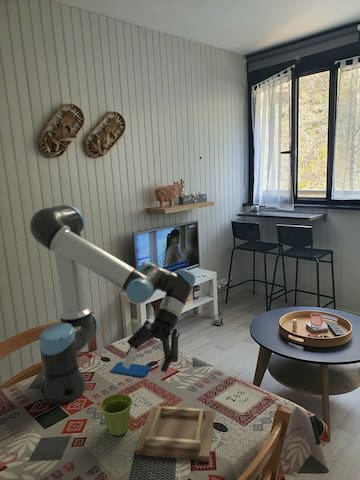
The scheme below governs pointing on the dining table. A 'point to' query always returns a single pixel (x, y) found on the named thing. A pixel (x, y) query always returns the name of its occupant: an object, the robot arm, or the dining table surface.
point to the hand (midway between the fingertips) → (140, 374)
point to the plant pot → (116, 413)
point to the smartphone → (131, 370)
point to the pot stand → (177, 433)
